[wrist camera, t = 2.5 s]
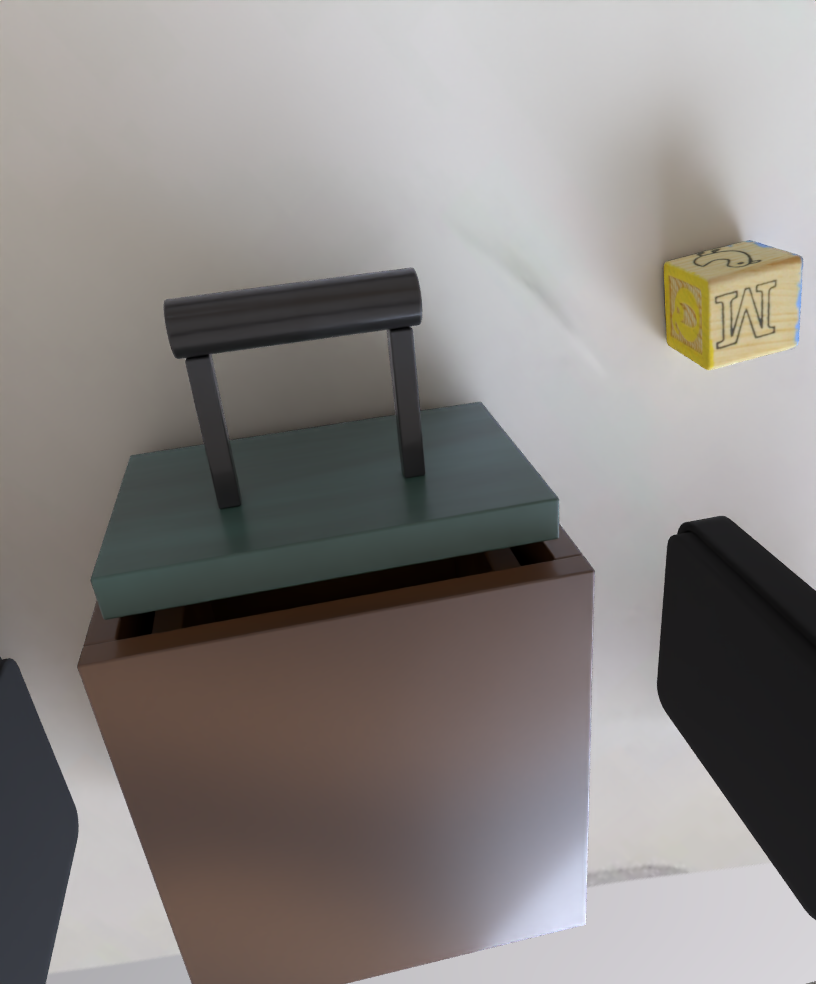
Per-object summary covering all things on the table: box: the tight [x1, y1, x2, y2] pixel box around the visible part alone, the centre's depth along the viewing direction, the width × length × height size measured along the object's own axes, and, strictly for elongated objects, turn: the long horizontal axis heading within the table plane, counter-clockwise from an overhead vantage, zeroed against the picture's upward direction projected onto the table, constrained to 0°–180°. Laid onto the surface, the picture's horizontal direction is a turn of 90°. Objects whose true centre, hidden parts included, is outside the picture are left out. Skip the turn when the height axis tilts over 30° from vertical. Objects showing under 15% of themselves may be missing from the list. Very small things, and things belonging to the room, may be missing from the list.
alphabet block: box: [664, 240, 803, 370], centre depth 25 cm, size 3×3×3 cm
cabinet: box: [77, 524, 595, 984], centre depth 26 cm, size 14×13×9 cm
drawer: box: [91, 268, 559, 634], centre depth 24 cm, size 18×11×7 cm, turn 5°
